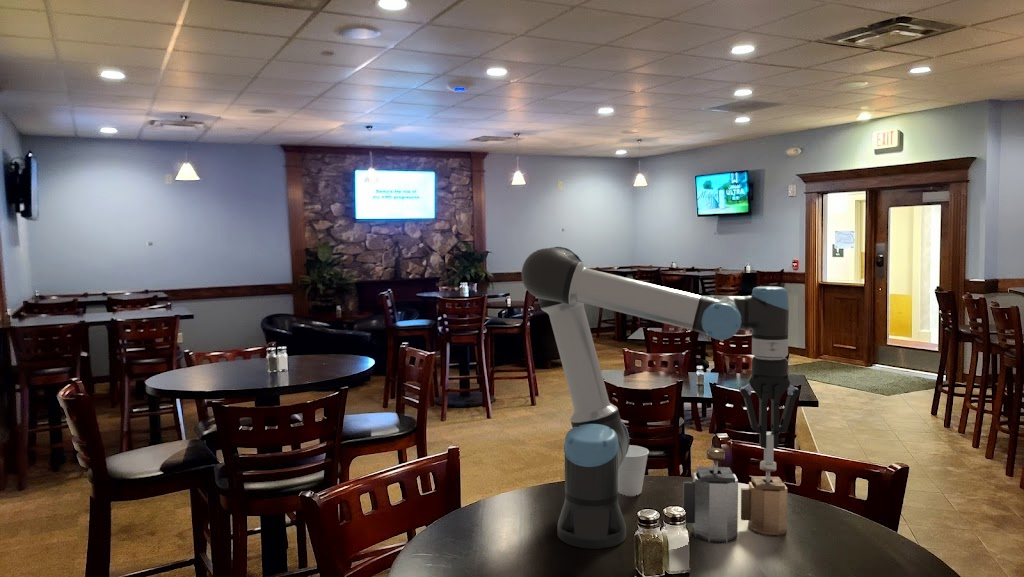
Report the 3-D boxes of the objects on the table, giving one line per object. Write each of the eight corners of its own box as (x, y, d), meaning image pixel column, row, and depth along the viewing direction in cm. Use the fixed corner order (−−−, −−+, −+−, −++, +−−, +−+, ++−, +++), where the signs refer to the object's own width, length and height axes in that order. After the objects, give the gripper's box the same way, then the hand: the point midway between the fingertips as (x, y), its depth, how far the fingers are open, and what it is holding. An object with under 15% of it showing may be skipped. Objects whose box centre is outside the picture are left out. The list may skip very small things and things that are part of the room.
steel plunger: (700, 513, 157) (701, 455, 156) (696, 501, 164) (697, 445, 163) (734, 514, 156) (734, 456, 155) (728, 502, 163) (729, 446, 162)
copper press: (781, 522, 166) (782, 475, 165) (790, 537, 158) (791, 488, 157) (737, 520, 167) (738, 474, 167) (744, 535, 159) (745, 486, 159)
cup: (609, 498, 183) (609, 455, 182) (610, 484, 192) (610, 444, 191) (649, 500, 181) (649, 457, 180) (648, 486, 191) (648, 445, 190)
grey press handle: (756, 515, 160) (757, 466, 159) (751, 505, 166) (752, 458, 165) (784, 516, 159) (784, 467, 158) (778, 506, 165) (778, 459, 164)
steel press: (733, 526, 164) (734, 465, 163) (741, 544, 155) (741, 480, 154) (681, 524, 166) (681, 464, 165) (685, 542, 156) (686, 478, 155)
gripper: (742, 359, 157) (741, 466, 159) (805, 360, 155) (803, 468, 157) (736, 353, 164) (735, 456, 166) (796, 354, 163) (794, 457, 164)
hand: (768, 461), depth 161 cm, fingers closed
